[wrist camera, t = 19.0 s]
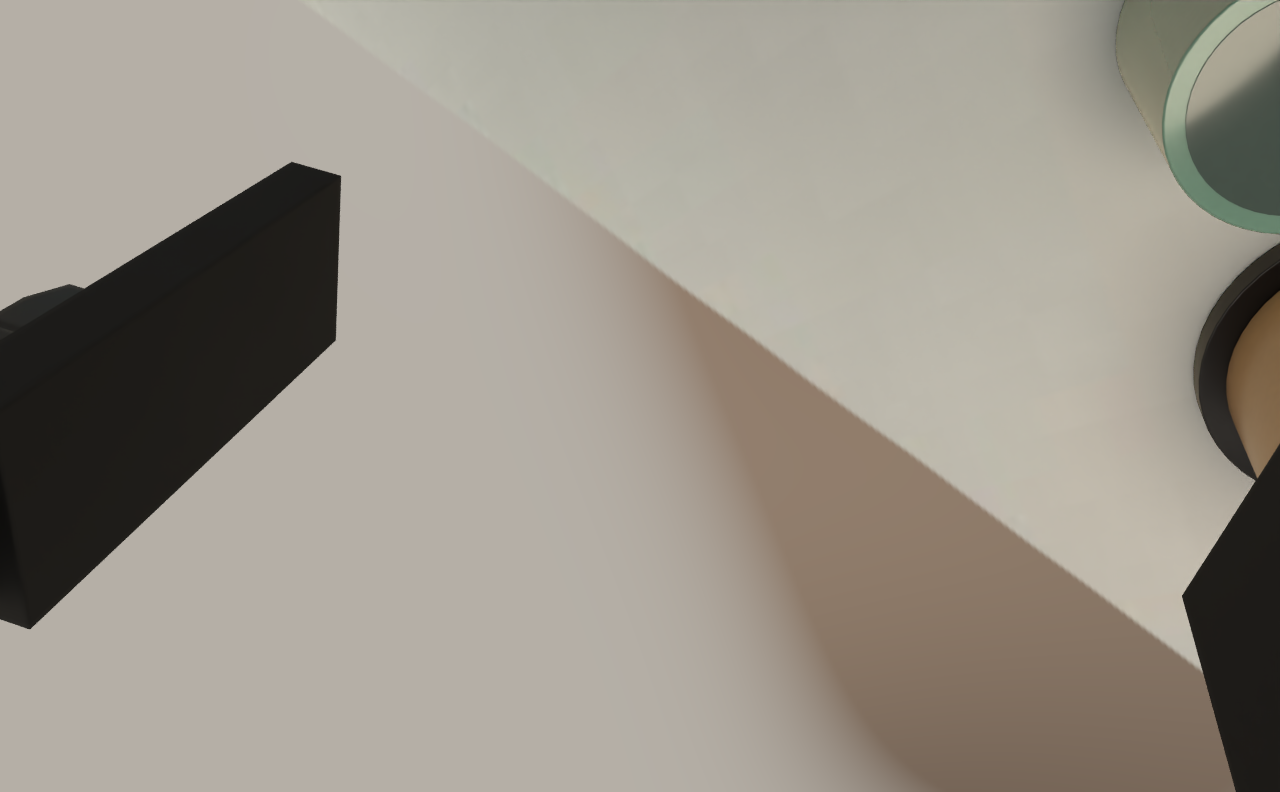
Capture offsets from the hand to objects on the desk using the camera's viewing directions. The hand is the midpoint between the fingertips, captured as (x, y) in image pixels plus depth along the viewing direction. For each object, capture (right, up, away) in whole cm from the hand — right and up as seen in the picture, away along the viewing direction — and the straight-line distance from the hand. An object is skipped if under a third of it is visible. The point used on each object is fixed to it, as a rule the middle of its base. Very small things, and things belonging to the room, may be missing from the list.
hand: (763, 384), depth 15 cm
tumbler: (+19, +13, +23) cm, 33 cm away
